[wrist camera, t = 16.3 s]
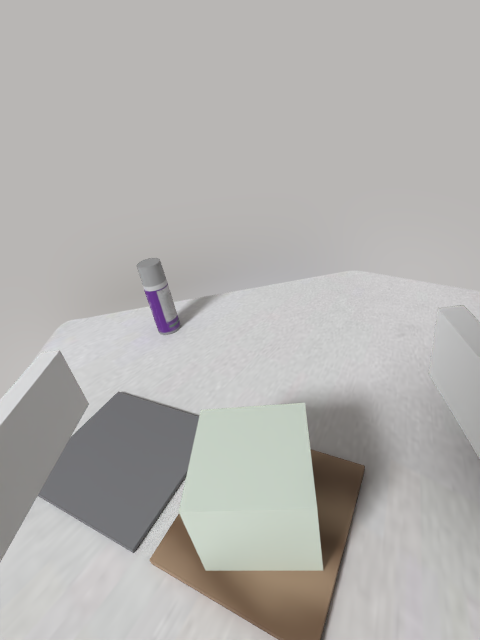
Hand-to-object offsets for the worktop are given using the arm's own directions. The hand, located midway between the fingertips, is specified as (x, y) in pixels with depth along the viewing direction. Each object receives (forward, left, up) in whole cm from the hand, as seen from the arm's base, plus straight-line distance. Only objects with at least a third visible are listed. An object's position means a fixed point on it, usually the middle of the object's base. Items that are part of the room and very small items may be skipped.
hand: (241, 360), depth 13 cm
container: (-37, -43, -30) cm, 64 cm away
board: (-9, -8, -30) cm, 32 cm away
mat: (-9, -29, -30) cm, 42 cm away
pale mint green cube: (-9, -8, -29) cm, 31 cm away
